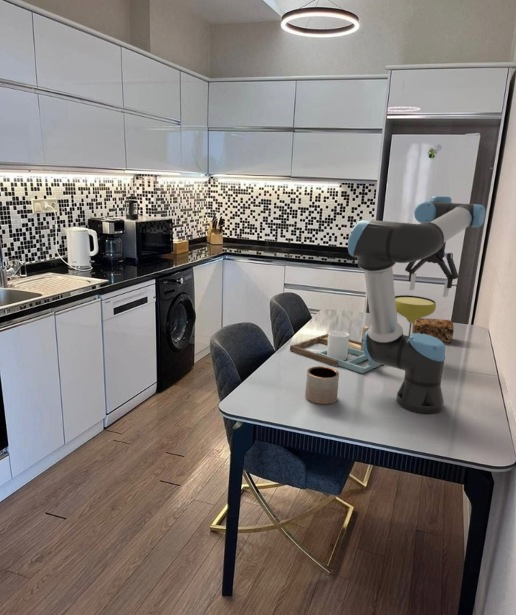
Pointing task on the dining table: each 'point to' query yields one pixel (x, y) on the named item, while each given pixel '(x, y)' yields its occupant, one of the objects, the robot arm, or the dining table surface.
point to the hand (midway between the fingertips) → (428, 293)
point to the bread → (434, 328)
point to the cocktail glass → (414, 307)
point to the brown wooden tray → (298, 349)
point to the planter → (322, 385)
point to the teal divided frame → (353, 361)
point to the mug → (338, 344)
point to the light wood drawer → (361, 341)
